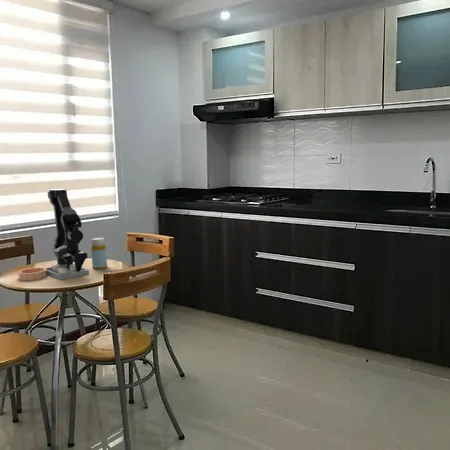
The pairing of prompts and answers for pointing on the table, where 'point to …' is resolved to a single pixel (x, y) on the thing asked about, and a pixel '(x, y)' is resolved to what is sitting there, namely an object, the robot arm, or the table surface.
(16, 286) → the table surface
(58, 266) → the pebble
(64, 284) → the table surface
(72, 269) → the pebble
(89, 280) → the table surface
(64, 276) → the tray
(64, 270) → the pebble
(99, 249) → the bottle
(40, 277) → the bowl
